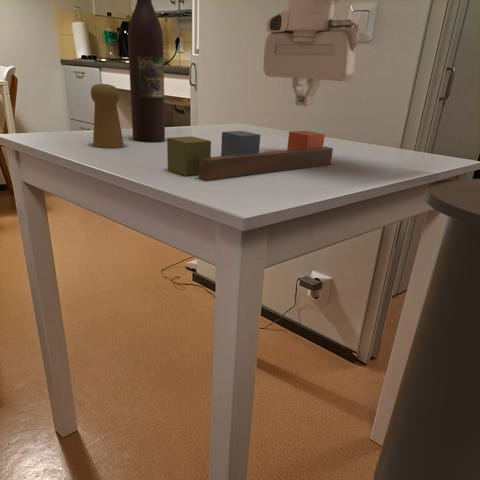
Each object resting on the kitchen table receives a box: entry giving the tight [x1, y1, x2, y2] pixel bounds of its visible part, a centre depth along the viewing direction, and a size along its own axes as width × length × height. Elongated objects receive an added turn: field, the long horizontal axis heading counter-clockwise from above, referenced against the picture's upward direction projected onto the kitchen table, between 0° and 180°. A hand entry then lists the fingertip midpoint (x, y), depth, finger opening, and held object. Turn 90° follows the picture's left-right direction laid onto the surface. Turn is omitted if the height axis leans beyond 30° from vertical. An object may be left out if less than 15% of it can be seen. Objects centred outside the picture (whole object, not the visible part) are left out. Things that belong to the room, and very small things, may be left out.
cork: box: [90, 83, 125, 149], centre depth 89 cm, size 6×6×11 cm
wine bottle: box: [127, 0, 166, 143], centre depth 94 cm, size 7×7×30 cm
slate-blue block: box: [220, 130, 261, 156], centre depth 84 cm, size 5×5×5 cm
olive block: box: [166, 135, 212, 177], centre depth 74 cm, size 5×5×5 cm
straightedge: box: [198, 146, 334, 182], centre depth 79 cm, size 2×31×3 cm, turn 132°
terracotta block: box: [286, 130, 326, 150], centre depth 90 cm, size 5×5×5 cm
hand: (303, 105), depth 88 cm, fingers closed
